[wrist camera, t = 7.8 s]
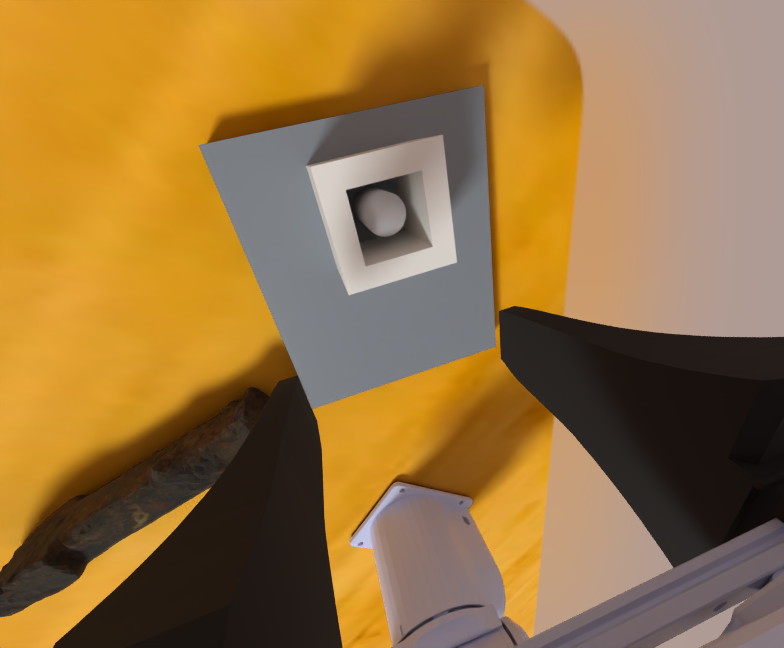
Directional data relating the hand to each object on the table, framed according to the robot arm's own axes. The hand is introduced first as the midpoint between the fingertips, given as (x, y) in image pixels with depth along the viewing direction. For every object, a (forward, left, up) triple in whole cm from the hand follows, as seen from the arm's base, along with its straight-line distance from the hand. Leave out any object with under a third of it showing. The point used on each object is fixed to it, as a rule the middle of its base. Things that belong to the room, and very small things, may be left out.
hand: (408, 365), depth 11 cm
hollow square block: (+2, -4, -8) cm, 9 cm away
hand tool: (+5, +18, -10) cm, 21 cm away
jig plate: (-1, -1, -9) cm, 9 cm away
